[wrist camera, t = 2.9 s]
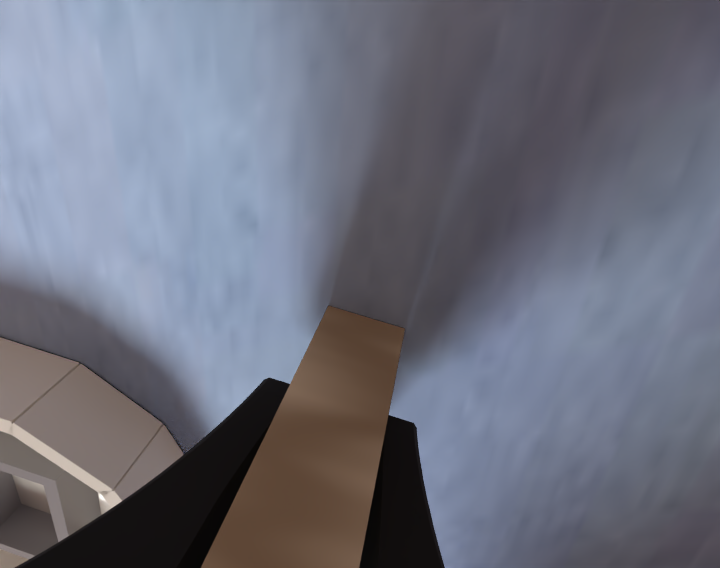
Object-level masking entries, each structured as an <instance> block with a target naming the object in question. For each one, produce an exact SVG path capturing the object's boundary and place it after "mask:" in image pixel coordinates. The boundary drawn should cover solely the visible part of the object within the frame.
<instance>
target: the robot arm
mask: <svg viewBox="0 0 720 568" xmlns="http://www.w3.org/2000/svg"><path fill="white" fill-rule="evenodd" d="M289 386H290V384H288V383H285V382H282V381H278V380H275V379H272V378H267V379H265V380H263V382H262V383H261V384H260V385H259V386H258V387H257V388H256V389H255V390H254V391H253V392H252V393H251V394H250V396H249V397H248V398H247V399H246V400H245V401H244V402H243V403H242V404H241V405H240V406H238V407H237V408H236V409H235V410H234V411H233V412H232V413H231V414H230V415H229V416H228V417H227V418H226V419H225V420H224V421H222V422H221V423H220V424H219V425H218V426H217V427H216V428H215V429H213V430H212V431H211V432H210V433H209V434H208V435H207V436H206V437H204V438H203V439H202V440H201V441H200V442H199V443H197V444H196V445H195V446H194V447H193V448H191V449H190V450H189V451H188V452H186V453H185V454H184V455H183V456H181V457H180V458H179V459H178V460H176V461H175V462H174V463H173V464H171V465H170V466H169V467H168V468H166V469H165V470H164V471H163V472H161V473H160V474H159V475H157V476H156V477H155V478H153V479H152V480H151V481H149V482H148V483H147V484H145V485H144V486H143V487H141V488H140V489H138V490H137V491H136V492H134V493H133V494H131V495H130V496H129V497H127V498H126V499H124V500H123V501H121V502H120V503H118V504H117V505H116V506H114V507H113V508H111V509H110V510H108V511H107V512H105V513H104V514H102V515H100V516H99V517H97V518H96V519H94V520H93V521H91V522H90V523H88V524H87V525H85V526H83V527H82V528H80V529H79V530H77V531H76V532H74V533H73V534H71V535H69V536H68V537H66V538H65V539H63V540H61V541H60V542H58V543H56V544H55V545H53V546H51V547H50V548H48V549H46V550H45V551H43V552H41V553H40V554H38V555H36V556H34V557H32V558H31V559H29V560H27V561H25V562H24V563H22V564H20V565H18V566H17V567H15V568H201V566H202V564H203V562H204V560H205V558H206V556H207V554H208V552H209V550H210V548H211V546H212V544H213V542H214V540H215V538H216V536H217V534H218V532H219V529H220V527H221V525H222V523H223V521H224V519H225V517H226V515H227V513H228V511H229V509H230V507H231V505H232V503H233V501H234V499H235V497H236V495H237V492H238V490H239V488H240V486H241V484H242V482H243V480H244V478H245V476H246V474H247V472H248V470H249V468H250V466H251V464H252V462H253V460H254V458H255V455H256V453H257V451H258V449H259V447H260V445H261V443H262V441H263V439H264V437H265V435H266V433H267V431H268V429H269V427H270V425H271V423H272V421H273V418H274V416H275V414H276V412H277V410H278V408H279V406H280V404H281V402H282V400H283V398H284V396H285V394H286V392H287V390H288V388H289ZM359 568H445V567H444V563H443V560H442V556H441V553H440V549H439V546H438V542H437V538H436V534H435V530H434V526H433V522H432V518H431V513H430V509H429V505H428V500H427V496H426V491H425V486H424V481H423V475H422V469H421V463H420V457H419V449H418V440H417V428H416V426H415V425H414V423H412V422H409V421H405V420H402V419H399V418H396V417H393V416H390V415H388V420H387V425H386V430H385V435H384V441H383V446H382V451H381V456H380V461H379V467H378V472H377V477H376V482H375V488H374V493H373V498H372V503H371V508H370V514H369V519H368V524H367V529H366V534H365V540H364V545H363V550H362V555H361V561H360V566H359Z"/></svg>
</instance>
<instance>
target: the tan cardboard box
mask: <svg viewBox="0 0 720 568" xmlns="http://www.w3.org/2000/svg"><path fill="white" fill-rule="evenodd" d="M404 331H405V329H404V328H401V327H398V326H394V325H391V324H388V323H384V322H381V321H378V320H375V319H371V318H368V317H365V316H361V315H358V314H355V313H351V312H348V311H345V310H341V309H338V308H335V307H331V306H328V307H327V310H326V312H325V314H324V316H323V318H322V320H321V322H320V324H319V326H318V328H317V330H316V332H315V334H314V336H313V338H312V340H311V342H310V344H309V347H308V349H307V351H306V353H305V355H304V357H303V359H302V361H301V363H300V365H299V367H298V369H297V371H296V373H295V375H294V377H293V379H292V381H291V384H290V386H289V388H288V390H287V392H286V394H285V396H284V398H283V400H282V402H281V404H280V406H279V408H278V410H277V412H276V414H275V416H274V418H273V421H272V423H271V425H270V427H269V429H268V431H267V433H266V435H265V437H264V439H263V441H262V443H261V445H260V447H259V449H258V451H257V453H256V455H255V458H254V460H253V462H252V464H251V466H250V468H249V470H248V472H247V474H246V476H245V478H244V480H243V482H242V484H241V486H240V488H239V490H238V492H237V495H236V497H235V499H234V501H233V503H232V505H231V507H230V509H229V511H228V513H227V515H226V517H225V519H224V521H223V523H222V525H221V527H220V529H219V532H218V534H217V536H216V538H215V540H214V542H213V544H212V546H211V548H210V550H209V552H208V554H207V556H206V558H205V560H204V562H203V564H202V566H201V568H359V566H360V561H361V555H362V550H363V545H364V540H365V534H366V529H367V524H368V519H369V514H370V508H371V503H372V498H373V493H374V488H375V482H376V477H377V472H378V467H379V461H380V456H381V451H382V446H383V441H384V435H385V430H386V425H387V420H388V414H389V409H390V404H391V399H392V394H393V388H394V383H395V378H396V373H397V368H398V362H399V357H400V352H401V347H402V341H403V336H404Z"/></svg>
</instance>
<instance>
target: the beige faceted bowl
mask: <svg viewBox="0 0 720 568" xmlns="http://www.w3.org/2000/svg"><path fill="white" fill-rule="evenodd" d="M162 424H163V423H162V422H160V421H159V420H158V419H156V418H155V417H154V416H152V415H151V414H149V413H148V412H147V411H145V410H144V409H143V408H141V407H140V406H138V405H137V404H136V403H134V402H133V401H132V400H130V399H129V398H127V397H126V396H125V395H123V394H122V393H121V392H119V391H118V390H117V389H115V388H114V387H112V386H111V385H110V384H108V383H107V382H106V381H104V380H103V379H101V378H100V377H99V376H97V375H96V374H95V373H93V372H92V371H90V370H89V369H88V368H86V367H85V366H84V365H82V364H79V362H75V361H72V360H69V359H66V358H63V357H60V356H57V355H54V354H51V353H47V352H44V351H41V350H38V349H35V348H32V347H29V346H26V345H23V344H19V343H16V342H13V341H10V340H7V339H4V338H1V337H0V568H15V567H17V566H18V565H20V564H22V563H24V562H25V561H27V560H29V559H31V558H32V557H34V556H36V555H38V554H40V553H41V552H43V551H45V550H46V549H48V548H50V547H51V546H53V545H55V544H56V543H58V542H60V541H61V540H63V539H65V538H66V537H68V536H69V535H71V534H73V533H74V532H76V531H77V530H79V529H80V528H82V527H83V526H85V525H87V524H88V523H90V522H91V521H93V520H94V519H96V518H97V517H99V516H100V515H102V514H104V513H105V512H107V511H108V510H110V509H111V508H113V507H114V506H116V505H117V504H118V503H120V502H121V501H123V500H124V499H126V498H127V497H129V496H130V495H131V494H133V493H134V492H136V491H137V490H138V489H140V488H141V487H143V486H144V485H145V484H147V483H148V482H149V481H151V480H152V479H153V478H155V477H156V476H157V475H159V474H160V473H161V472H163V471H164V470H165V469H166V468H168V467H169V466H170V465H171V464H173V463H174V462H175V461H176V460H178V459H179V458H180V457H181V456H183V455H184V454H183V452H182V451H181V449H180V448H179V446H178V445H177V443H176V442H175V440H174V439H173V437H172V436H171V434H170V433H169V431H168V430H167V428H166V427H165V425H162Z"/></svg>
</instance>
